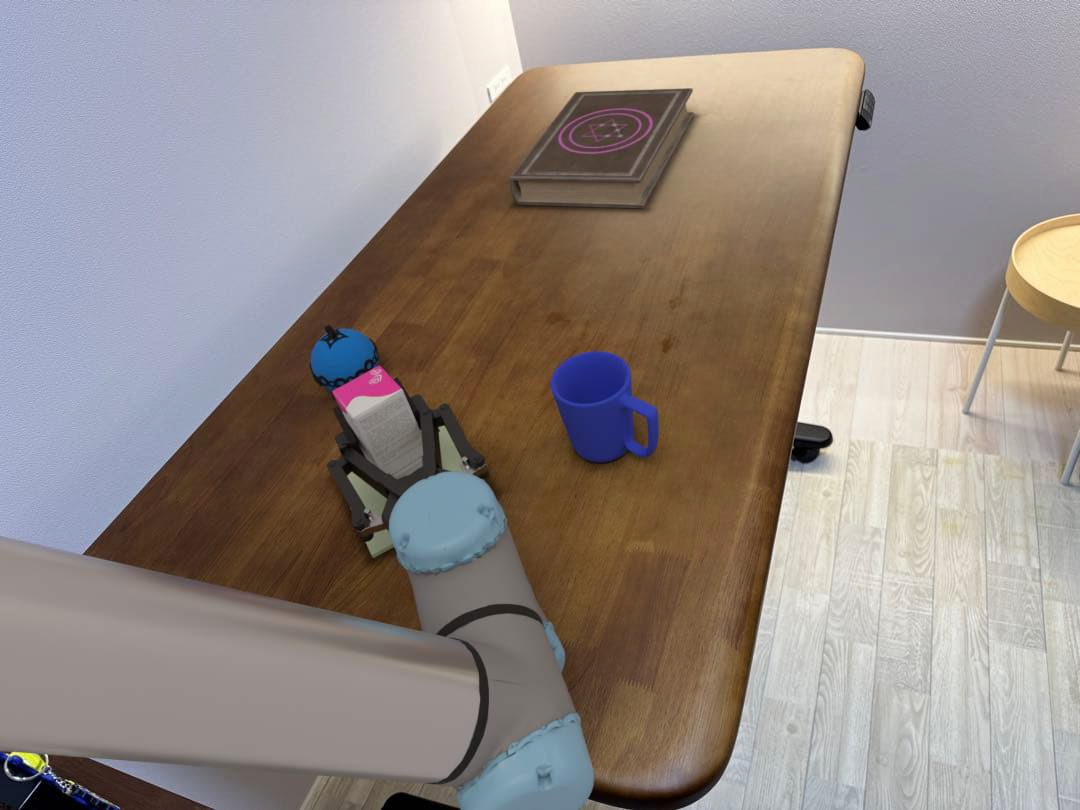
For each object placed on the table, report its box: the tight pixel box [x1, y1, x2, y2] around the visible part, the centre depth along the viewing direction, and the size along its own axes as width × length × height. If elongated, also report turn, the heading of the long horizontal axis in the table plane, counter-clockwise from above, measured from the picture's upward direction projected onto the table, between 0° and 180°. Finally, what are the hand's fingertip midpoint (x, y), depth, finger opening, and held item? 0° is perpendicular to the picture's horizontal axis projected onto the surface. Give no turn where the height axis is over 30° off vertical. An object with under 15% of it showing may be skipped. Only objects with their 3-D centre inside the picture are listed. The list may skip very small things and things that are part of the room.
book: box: [508, 87, 695, 209], centre depth 131 cm, size 30×22×5 cm
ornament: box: [309, 324, 380, 392], centre depth 98 cm, size 9×9×10 cm
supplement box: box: [331, 364, 423, 479], centre depth 81 cm, size 6×6×12 cm
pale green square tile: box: [347, 426, 486, 559], centre depth 87 cm, size 14×14×1 cm
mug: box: [550, 350, 660, 464], centre depth 81 cm, size 8×12×10 cm
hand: (369, 401), depth 84 cm, fingers closed on supplement box, 6 cm apart
